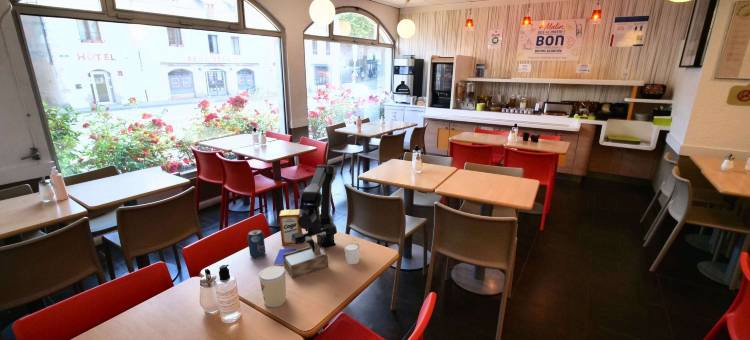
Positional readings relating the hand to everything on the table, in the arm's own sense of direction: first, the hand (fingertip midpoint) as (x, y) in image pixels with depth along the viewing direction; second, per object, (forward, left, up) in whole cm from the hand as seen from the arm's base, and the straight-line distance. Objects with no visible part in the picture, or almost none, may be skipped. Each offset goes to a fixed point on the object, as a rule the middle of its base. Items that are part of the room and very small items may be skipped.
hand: (316, 251), depth 151 cm
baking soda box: (+2, -26, -6) cm, 27 cm away
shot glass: (-14, +7, -6) cm, 17 cm away
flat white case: (+5, 0, -2) cm, 5 cm away
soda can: (+20, -22, -6) cm, 30 cm away
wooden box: (+5, 0, -6) cm, 8 cm away
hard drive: (+10, -13, -7) cm, 18 cm away
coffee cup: (+23, +15, -6) cm, 28 cm away
